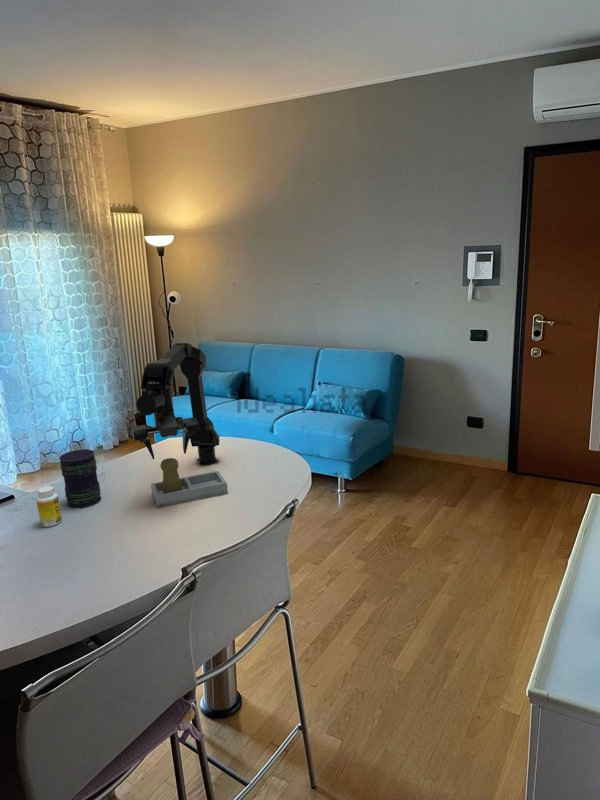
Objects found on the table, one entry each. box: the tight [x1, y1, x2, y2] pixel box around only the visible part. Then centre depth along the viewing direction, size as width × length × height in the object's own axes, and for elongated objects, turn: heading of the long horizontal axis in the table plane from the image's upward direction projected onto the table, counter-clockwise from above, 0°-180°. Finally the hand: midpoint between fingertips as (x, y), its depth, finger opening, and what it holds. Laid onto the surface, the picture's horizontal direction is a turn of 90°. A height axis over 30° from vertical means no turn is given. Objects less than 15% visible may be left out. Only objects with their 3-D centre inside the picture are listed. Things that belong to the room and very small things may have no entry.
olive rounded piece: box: [160, 457, 183, 494], centre depth 173 cm, size 6×6×11 cm
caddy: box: [150, 470, 229, 509], centre depth 176 cm, size 11×21×4 cm, turn 111°
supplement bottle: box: [35, 485, 63, 528], centre depth 161 cm, size 6×6×10 cm
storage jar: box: [59, 448, 102, 509], centre depth 174 cm, size 10×10×15 cm
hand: (169, 456), depth 172 cm, fingers open, 9 cm apart
